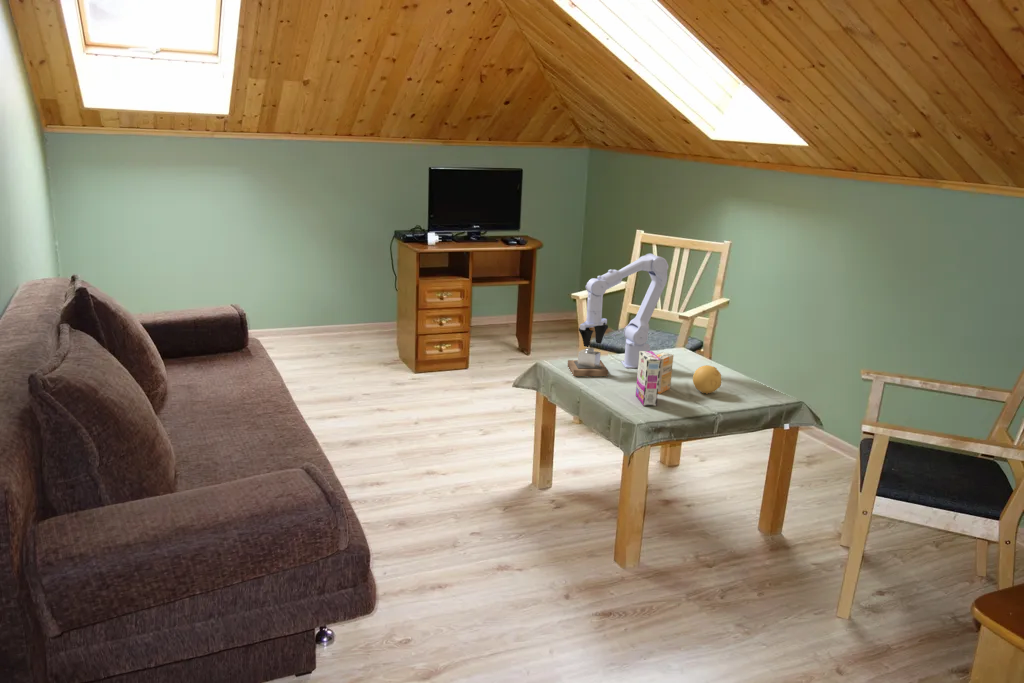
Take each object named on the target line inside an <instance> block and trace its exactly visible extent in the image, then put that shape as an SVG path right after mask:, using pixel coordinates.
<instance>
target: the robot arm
mask: <svg viewBox="0 0 1024 683" xmlns="http://www.w3.org/2000/svg"><path fill="white" fill-rule="evenodd" d="M669 267H670V266H669V264H668V261H667V259H666V258H664V257H662V256H659V255H656V254H654V253H651V252H650V253H646V254H645V255H641V256H640V257H638V259H636V260H634V261H632V262H630V263H629V264H627V265H626V266H624V267H621V269H618V270H617V269H612V268H611V269H608V270H607V272H606V273H604V274H602V275H597V278H595V277H594V278H593V277H592V278H590V279H589V280H588V281H587V282H586V285H585V289H586V292H587V304H586V320H585V321H584V322H583V323H580V324H579V328H578V331H579V334H580V337H581V339H582V343H583V346H584V348H590V344H591V338H592V335H593V333H595V343H596V344H600V345H601V344H602V342H603V338H604V335H605V333H606V332H607V330H608V328H609V325H608V319H607V318H604V317H603V301H604V300H603V299H604V297H603V296H604V295H605V293H606V292H607V290H609V289H611V288H613V287H615V286H617V285H619V284H621V283H622V281H623V279H624V278H627V277H629V276H631V275H633V274H636V273H637V272H640V271H644V272H648V274H649V277H650V280H651V281H650V284H649V286H648V288H647V291H646V292H645V296H644V297H643V299H642V301H641V304H640V306H639V309H638V311H637V313H636V315H635V317H634V318H633V319H631V320H630V321H629V323H628V324H627V325H626V326H625V327H624V329H623V336H624V338H625V347H624V360H621V362H620V363H621V364H622V365H623V366H624V367H625V369H626V368H627V369H638V363H639V351H651V346H650V344H649V343H647V341H648V338H649V332H650V325H649V322H650V320H651V317H652V316H653V314H654V311H655V309H656V308H657V305H658V302H659V301H660V298H661V296H662V294H663V291H664V290H665V287H666V285H667V282H668V269H669ZM590 328H594V330H591V329H590ZM594 331H595V332H594Z"/></svg>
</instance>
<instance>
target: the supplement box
mask: <svg viewBox="0 0 1024 683" xmlns="http://www.w3.org/2000/svg"><path fill="white" fill-rule="evenodd" d="M655 355H656V356H657V357H658V358H659V359H660V360H661V365H660V376H659V385H658V395H661V394H662V393H665V392H666V391H669V390H670V389H671V385H672V384H671V383H672V375H673V374H672V373H673V365H674V354H673V353H669V352H660V353H657V354H655Z"/></svg>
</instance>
